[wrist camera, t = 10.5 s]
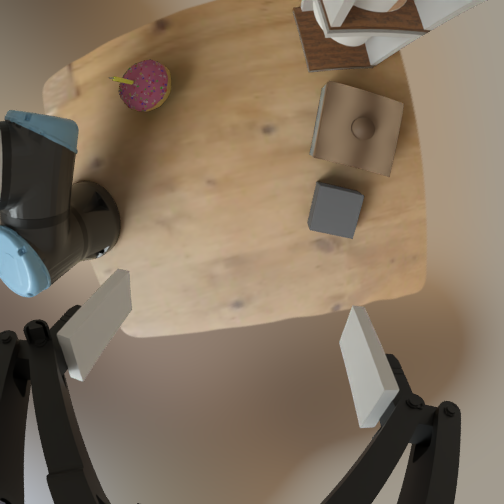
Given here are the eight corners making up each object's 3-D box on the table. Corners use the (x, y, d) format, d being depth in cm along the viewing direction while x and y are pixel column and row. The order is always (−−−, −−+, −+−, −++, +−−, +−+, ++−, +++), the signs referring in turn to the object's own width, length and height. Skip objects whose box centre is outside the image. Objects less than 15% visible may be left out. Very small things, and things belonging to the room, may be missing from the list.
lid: (312, 156, 40) (315, 158, 36) (326, 83, 36) (330, 78, 32) (383, 174, 40) (393, 178, 36) (397, 104, 35) (408, 102, 32)
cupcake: (128, 110, 44) (90, 106, 32) (139, 64, 40) (103, 49, 29) (173, 115, 44) (142, 111, 33) (185, 67, 40) (158, 49, 29)
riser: (307, 222, 49) (309, 230, 45) (316, 181, 46) (320, 185, 42) (347, 230, 48) (352, 238, 45) (357, 191, 46) (364, 195, 42)
